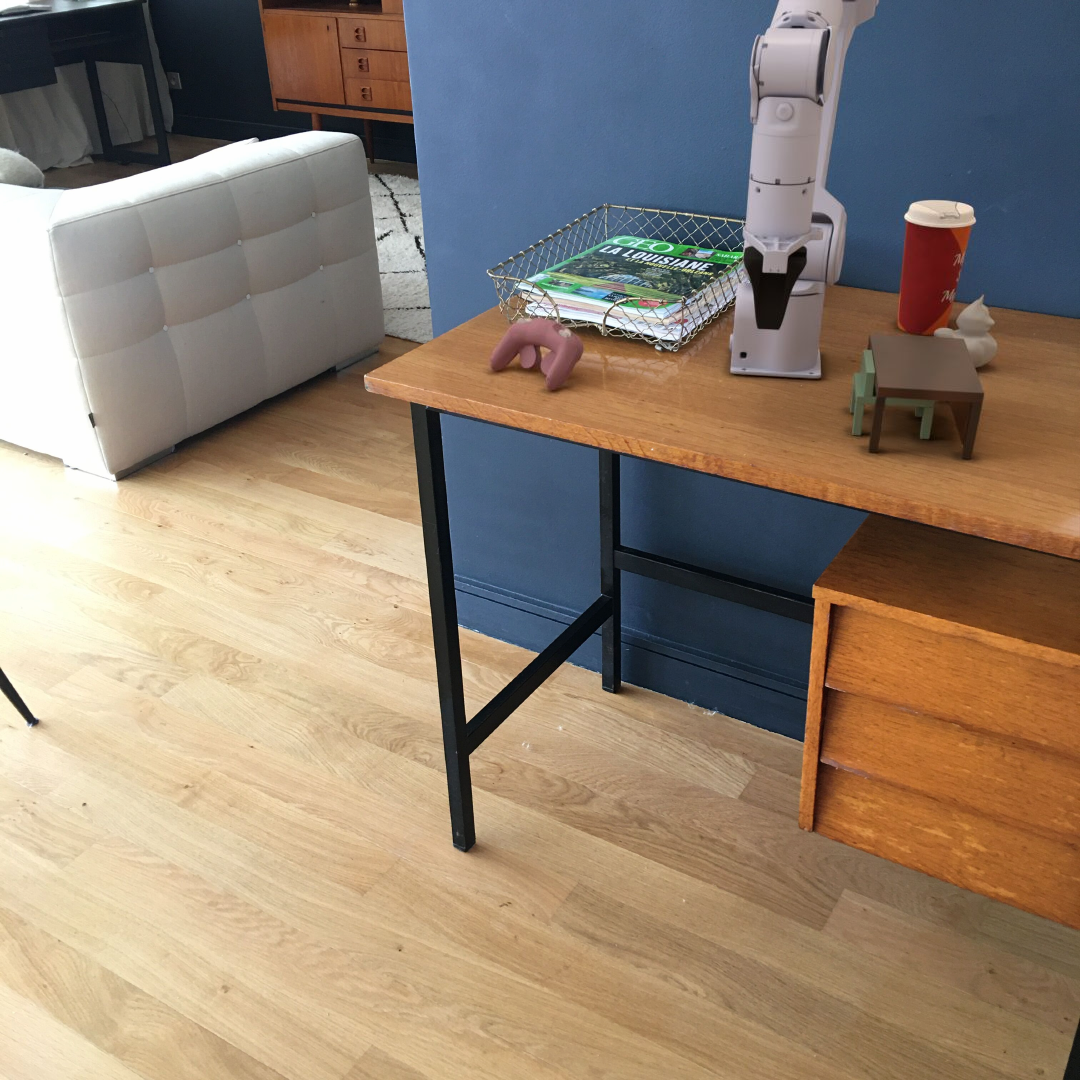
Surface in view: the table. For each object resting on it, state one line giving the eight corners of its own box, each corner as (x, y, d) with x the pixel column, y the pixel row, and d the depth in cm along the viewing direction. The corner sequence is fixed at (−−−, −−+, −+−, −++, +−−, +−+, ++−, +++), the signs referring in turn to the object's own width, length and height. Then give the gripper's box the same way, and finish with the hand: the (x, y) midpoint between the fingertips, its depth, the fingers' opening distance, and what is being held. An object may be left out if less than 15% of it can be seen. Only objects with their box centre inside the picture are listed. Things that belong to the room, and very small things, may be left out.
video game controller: (576, 397, 117) (595, 333, 116) (550, 390, 113) (569, 324, 112) (510, 374, 123) (528, 313, 122) (483, 367, 119) (501, 304, 118)
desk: (868, 452, 101) (878, 386, 98) (860, 394, 113) (869, 333, 109) (971, 459, 99) (984, 392, 96) (952, 399, 111) (964, 338, 108)
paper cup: (964, 337, 126) (987, 214, 119) (897, 338, 127) (916, 215, 119) (944, 315, 133) (964, 198, 126) (880, 316, 133) (897, 198, 126)
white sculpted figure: (993, 377, 116) (1008, 303, 112) (927, 370, 118) (940, 298, 114) (993, 359, 120) (1007, 288, 116) (930, 353, 122) (942, 282, 118)
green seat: (852, 435, 104) (859, 371, 101) (849, 410, 109) (856, 349, 106) (929, 439, 103) (939, 375, 100) (923, 413, 108) (932, 351, 105)
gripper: (831, 199, 89) (813, 356, 96) (827, 162, 102) (811, 304, 108) (743, 196, 91) (731, 352, 97) (750, 160, 103) (739, 301, 110)
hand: (768, 327), depth 103 cm, fingers closed
